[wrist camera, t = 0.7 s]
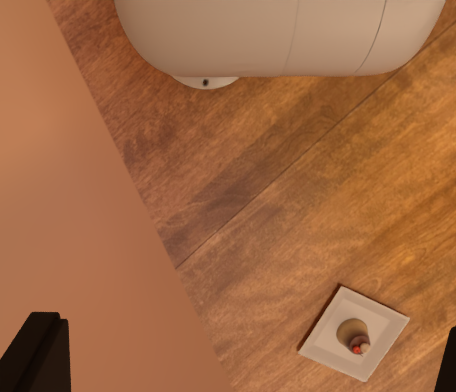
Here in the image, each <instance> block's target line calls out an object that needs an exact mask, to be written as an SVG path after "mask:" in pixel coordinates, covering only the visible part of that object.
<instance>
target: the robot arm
mask: <svg viewBox="0 0 456 392" xmlns="http://www.w3.org/2000/svg"><path fill="white" fill-rule="evenodd" d="M445 2H446V0H114V4H115V8H116V11H117V15H118V17H119V20H120V23H121V25H122V28H123V30H124V32H125V34H126V36H127V37H128V39H129V41H130V42H131V44H132V46H133V47H134V48H135V50H136V51H137V52H138V54H139V55H140V56H141V57H142V58H143V59H144V60H145V61H147V62H148V63H149V64H150V65H152V66H153V67H155V68H156V69H158V70H160V71H162V72H164V73H166V74H169V75H171V76H172V77H173V78H174V79H175V80H177V81H179V82H180V83H182V84H184V85H186V86H189V87H192V88H196V89H216V88H221V87H224V86H226V85H229V84H231V83H233V82H234V81H236V80H237V79H238V78H240V77H278V76H367V75H377V74H382V73H386V72H390V71H392V70H395V69H397V68H399V67H400V66H402V65H404V64H405V63H406V62H407V61H409V60H410V59H411V58H412V57H413V56H414V55H415V54H416V53H417V52H418V50H419V49H420V48H421V47H422V45H423V44H424V42H425V41H426V39H427V38H428V36H429V34H430V32H431V31H432V29H433V27H434V25H435V23H436V21H437V19H438V17H439V15H440V13H441V11H442V9H443V6H444V4H445ZM204 80H206V81H207V84H206V85H204V84H203V81H204ZM0 392H71V377H70V352H69V326H68V320H67V319H60V314H59V313H58V312H32V313H31V314H30V315H29V317H28V318H27V320H26V321H25V323H24V324H23V326H22V327H21V329H20V330H19V332H18V333H17V335H16V337H15V338H14V339H13V341H12V342H11V344H10V346H9V347H8V349H7V350H6V352H5V353H4V355H3V356H2V358H1V359H0ZM434 392H456V326H455V327H452V328H451V330H450V333H449V336H448V340H447V344H446V348H445V352H444V355H443V359H442V363H441V367H440V371H439V375H438V378H437V382H436V386H435V390H434Z"/></svg>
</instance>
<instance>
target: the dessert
mask: <svg viewBox="0 0 456 392" xmlns="http://www.w3.org/2000/svg"><path fill="white" fill-rule="evenodd" d="M409 320H410V318H408V317H406V316H404V315H402V314H400V313H398V312H396V311H394V310H392V309H390V308H387V307H385V306H383V305H381V304H379V303H377V302H375V301H373V300H371V299H369V298H366V297H364V296H362V295H360V294H358V293H356V292H354V291H352V290H350V289H348V288H346V287H343V286H341V287H340V289H339V290H338V292H337V294H336V295H335V297H334V298H333V300H332V301H331V303H330V304H329V306H328V307H327V309H326V311H325V312H324V314H323V315H322V317H321V318H320V320H319V321H318V323H317V324H316V326H315V328H314V329H313V331H312V332H311V334H310V335H309V337H308V338H307V340H306V341H305V343H304V345H303V346H302V348H301V349H300V351H299V352H298V354H300V355H302V356H304V357H307V358H309V359H311V360H314V361H316V362H318V363H321V364H323V365H325V366H328V367H330V368H332V369H335V370H337V371H339V372H342V373H344V374H346V375H349V376H351V377H353V378H356V379H358V380H360V381H363V382H367V380H368V379H369V377H370V376H371V374H372V373H373V372H374V370H375V369H376V367H377V366H378V364H379V363H380V362H381V360H382V359H383V357H384V356H385V354H386V353H387V352H388V350H389V349H390V347H391V346H392V344H393V343H394V342H395V340H396V339H397V337H398V336H399V334H400V333H401V332H402V330H403V329H404V327H405V326H406V324H407V323H408V322H409Z"/></svg>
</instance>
